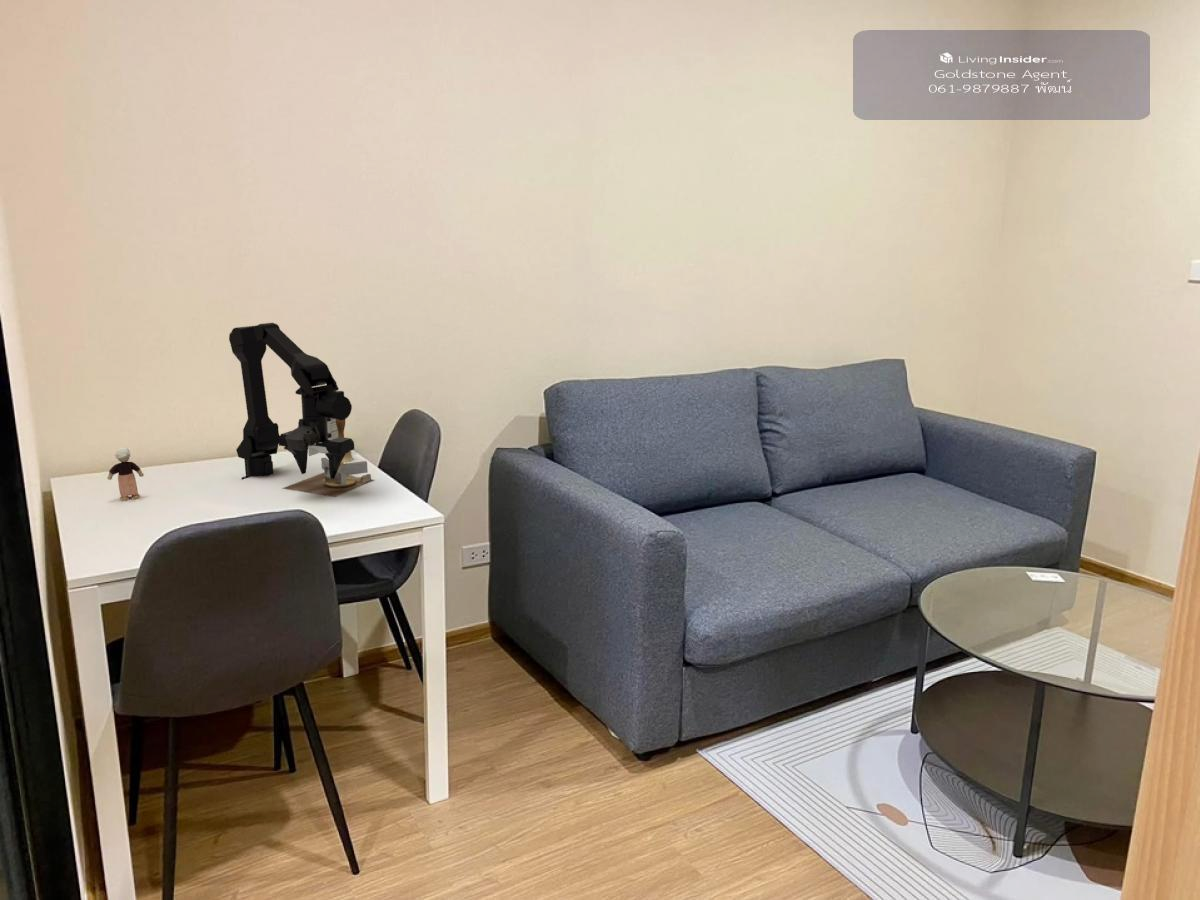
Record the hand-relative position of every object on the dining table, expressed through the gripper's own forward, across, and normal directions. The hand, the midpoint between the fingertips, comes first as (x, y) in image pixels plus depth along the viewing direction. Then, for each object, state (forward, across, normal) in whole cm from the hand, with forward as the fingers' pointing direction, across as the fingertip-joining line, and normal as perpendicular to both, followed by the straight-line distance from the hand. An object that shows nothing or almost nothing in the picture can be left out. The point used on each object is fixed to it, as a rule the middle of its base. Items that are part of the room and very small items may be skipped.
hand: (318, 475), depth 228 cm
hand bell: (+5, -12, +25) cm, 28 cm away
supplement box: (+6, -23, +32) cm, 40 cm away
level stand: (+5, -1, +5) cm, 7 cm away
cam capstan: (+3, +2, +7) cm, 8 cm away
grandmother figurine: (+6, -39, -22) cm, 45 cm away
